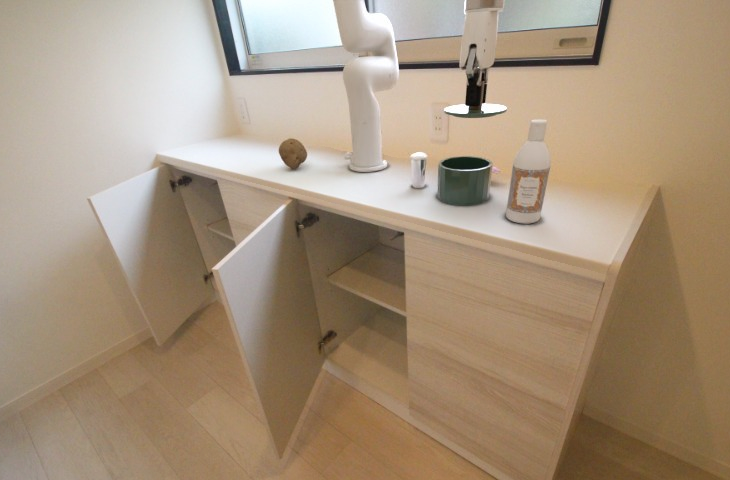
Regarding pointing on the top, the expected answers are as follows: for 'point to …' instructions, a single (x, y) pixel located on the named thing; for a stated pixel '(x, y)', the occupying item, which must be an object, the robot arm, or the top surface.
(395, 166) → the top surface
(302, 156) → the brown potato
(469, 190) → the pot
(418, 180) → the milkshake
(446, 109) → the pot lid
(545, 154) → the bath foam
